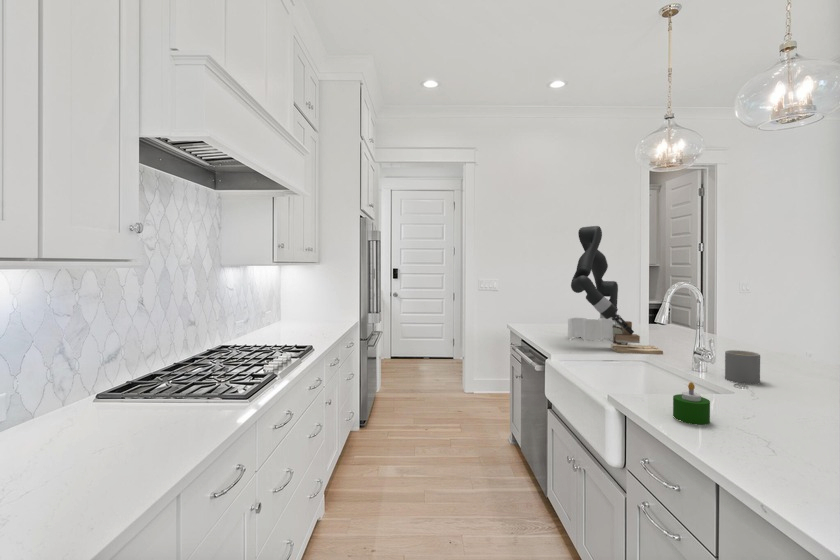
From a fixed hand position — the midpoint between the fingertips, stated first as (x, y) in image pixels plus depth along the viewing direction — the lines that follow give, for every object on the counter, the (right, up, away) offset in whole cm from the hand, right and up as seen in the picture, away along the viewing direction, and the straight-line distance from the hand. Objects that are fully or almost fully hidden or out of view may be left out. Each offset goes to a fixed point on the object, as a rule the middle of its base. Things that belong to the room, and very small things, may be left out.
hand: (631, 332), depth 205 cm
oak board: (+2, -9, 0) cm, 9 cm away
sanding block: (-2, -5, +1) cm, 5 cm away
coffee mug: (+12, -10, -54) cm, 57 cm away
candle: (-32, -12, -94) cm, 100 cm away
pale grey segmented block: (-6, -9, +34) cm, 35 cm away
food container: (+5, -9, +18) cm, 20 cm away
